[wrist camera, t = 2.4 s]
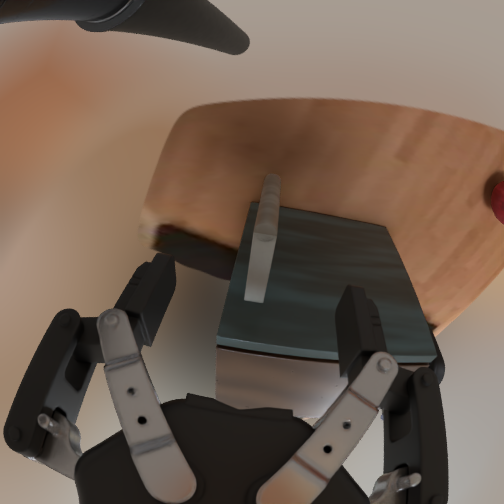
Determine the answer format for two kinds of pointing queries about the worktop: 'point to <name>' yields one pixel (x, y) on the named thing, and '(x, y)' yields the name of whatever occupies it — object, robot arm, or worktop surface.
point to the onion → (498, 201)
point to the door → (316, 283)
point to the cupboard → (280, 381)
